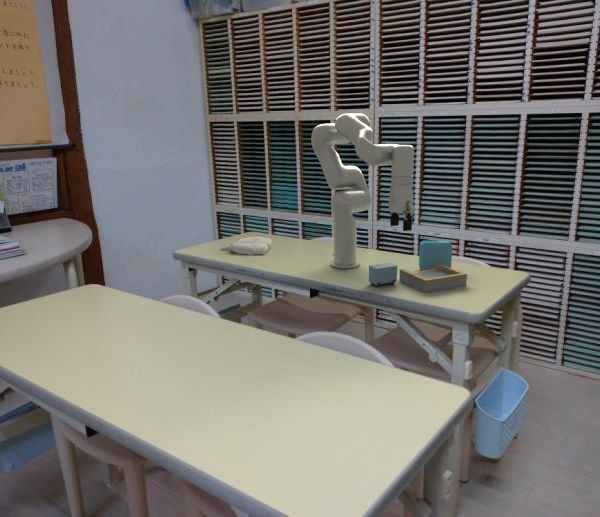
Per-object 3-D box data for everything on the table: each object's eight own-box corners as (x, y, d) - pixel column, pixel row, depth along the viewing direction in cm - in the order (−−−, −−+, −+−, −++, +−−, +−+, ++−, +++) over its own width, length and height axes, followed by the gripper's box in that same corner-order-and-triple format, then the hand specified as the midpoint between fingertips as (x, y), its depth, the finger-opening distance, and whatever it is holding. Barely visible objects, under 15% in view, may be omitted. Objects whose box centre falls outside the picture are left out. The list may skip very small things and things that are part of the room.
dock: (399, 280, 188) (399, 269, 187) (438, 274, 195) (438, 263, 194) (425, 292, 174) (425, 280, 173) (466, 285, 181) (467, 273, 180)
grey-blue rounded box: (368, 283, 186) (368, 265, 184) (388, 280, 189) (389, 262, 187) (376, 288, 180) (376, 269, 179) (397, 284, 184) (397, 266, 182)
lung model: (266, 255, 230) (215, 259, 235) (274, 247, 246) (226, 251, 251) (264, 242, 228) (212, 246, 233) (272, 234, 245) (224, 238, 250)
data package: (448, 269, 202) (450, 240, 199) (451, 272, 198) (452, 242, 195) (418, 269, 203) (419, 240, 200) (420, 272, 199) (421, 243, 196)
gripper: (381, 179, 183) (380, 224, 188) (404, 183, 167) (402, 233, 172) (400, 178, 185) (398, 223, 190) (424, 182, 169) (422, 231, 174)
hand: (400, 228), depth 181 cm, fingers open, 9 cm apart
